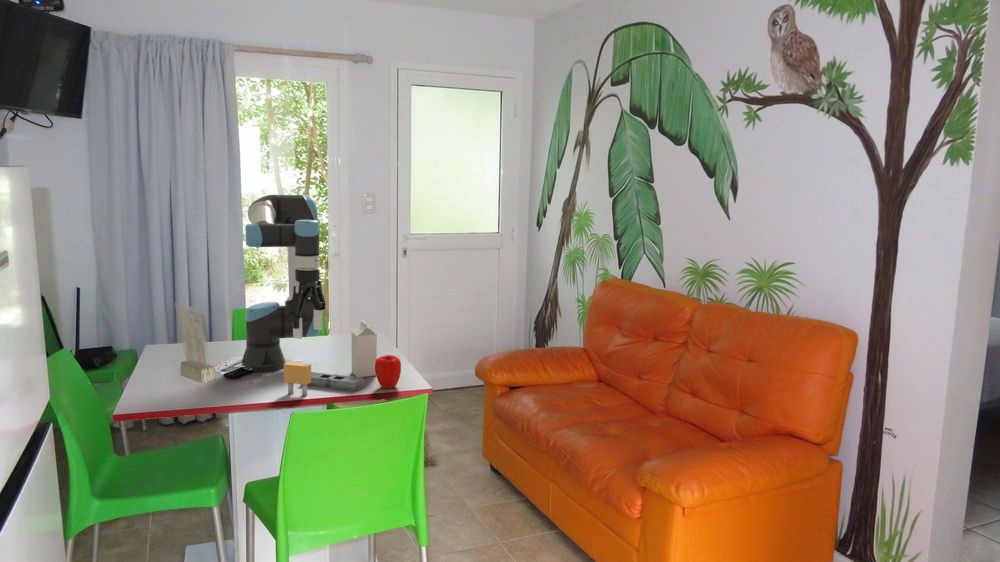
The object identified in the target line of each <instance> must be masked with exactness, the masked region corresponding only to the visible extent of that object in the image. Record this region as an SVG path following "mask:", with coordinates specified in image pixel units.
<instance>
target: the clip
mask: <svg viewBox="0 0 1000 562" xmlns="http://www.w3.org/2000/svg"><path fill="white" fill-rule="evenodd" d="M311 372H312V364H309V363H304V362H303V363H302V362H294V361H293V362H291V361H287V362H285V364H284V368H283V383H287V386H288V387H287V390H288V391H287V393H288V395H293V394H294V384H296V385H301V384H302V385H301V395H302V396H303V397H306V396H308V386H307V384H309V383H311Z"/></svg>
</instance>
